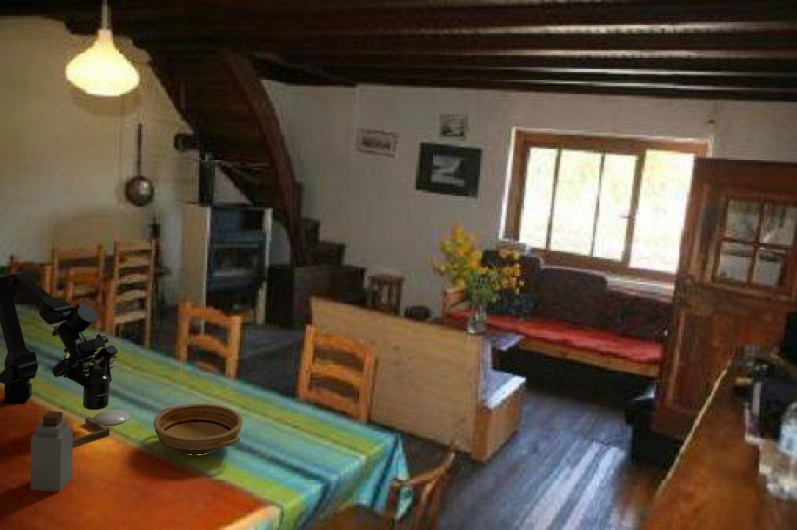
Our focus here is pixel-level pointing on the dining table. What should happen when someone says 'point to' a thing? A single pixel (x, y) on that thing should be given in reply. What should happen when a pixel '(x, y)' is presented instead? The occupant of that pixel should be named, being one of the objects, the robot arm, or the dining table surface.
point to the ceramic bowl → (198, 427)
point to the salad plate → (86, 366)
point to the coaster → (112, 417)
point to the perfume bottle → (51, 453)
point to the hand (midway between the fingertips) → (100, 385)
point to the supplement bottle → (97, 388)
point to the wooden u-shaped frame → (101, 433)
